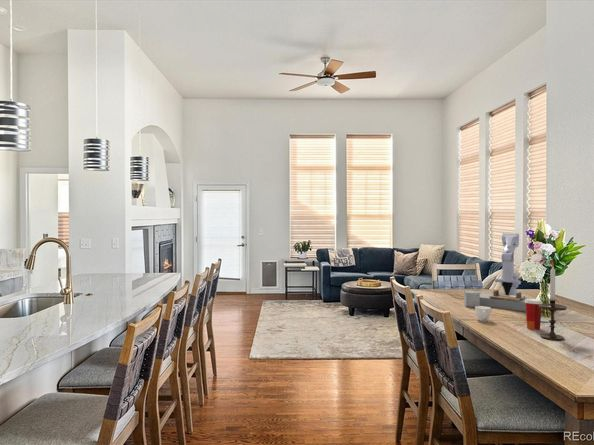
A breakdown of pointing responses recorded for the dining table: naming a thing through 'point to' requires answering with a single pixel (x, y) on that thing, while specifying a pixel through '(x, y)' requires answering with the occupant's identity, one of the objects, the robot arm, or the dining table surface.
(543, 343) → the dining table surface
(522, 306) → the lid box
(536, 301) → the paper cup
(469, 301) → the medicine box
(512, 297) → the ash panel
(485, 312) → the cup
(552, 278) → the candlestick
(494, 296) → the wooden sliding lid
